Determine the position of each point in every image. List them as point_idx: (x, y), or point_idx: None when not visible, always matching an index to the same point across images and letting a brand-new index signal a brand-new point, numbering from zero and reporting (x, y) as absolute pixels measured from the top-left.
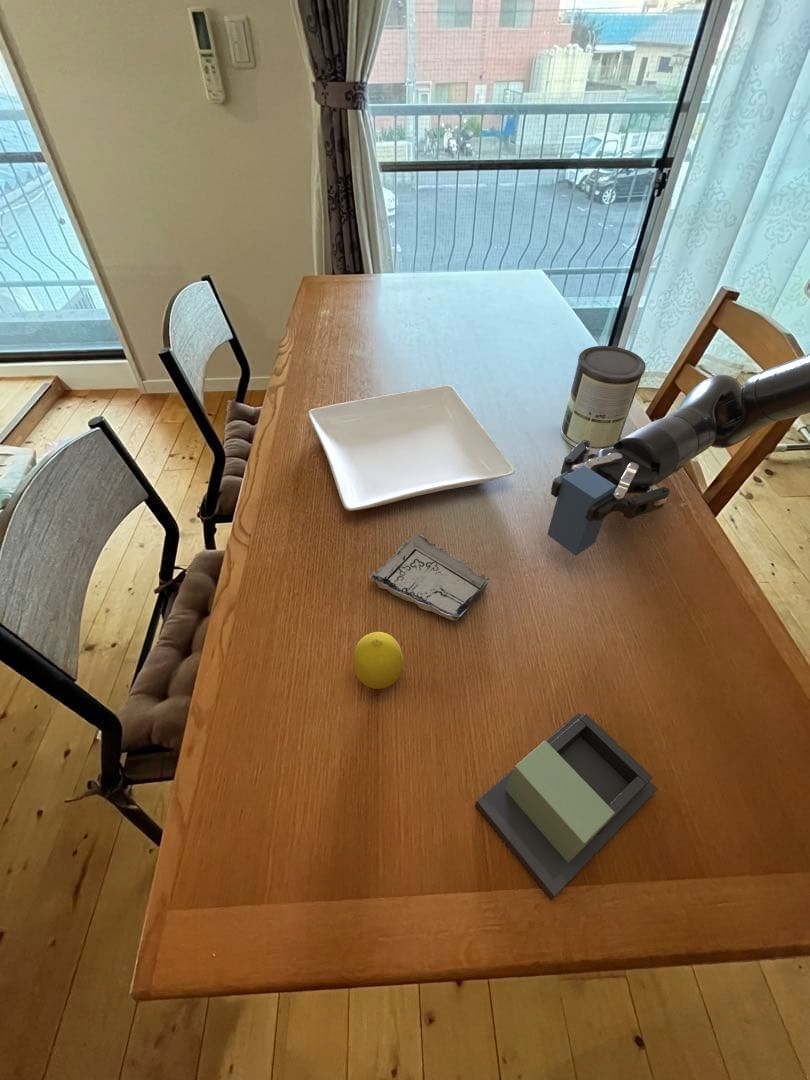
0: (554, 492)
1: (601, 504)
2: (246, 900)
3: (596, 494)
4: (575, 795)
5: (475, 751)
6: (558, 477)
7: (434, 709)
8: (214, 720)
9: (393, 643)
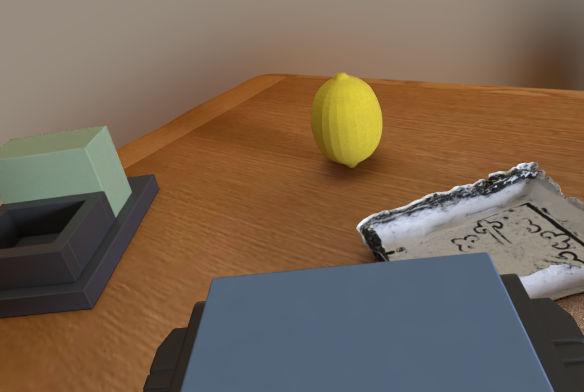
0: None
1: (184, 346)
2: (256, 95)
3: (227, 304)
4: (30, 147)
5: (193, 206)
6: (578, 341)
7: (269, 194)
8: (404, 87)
9: (332, 95)
